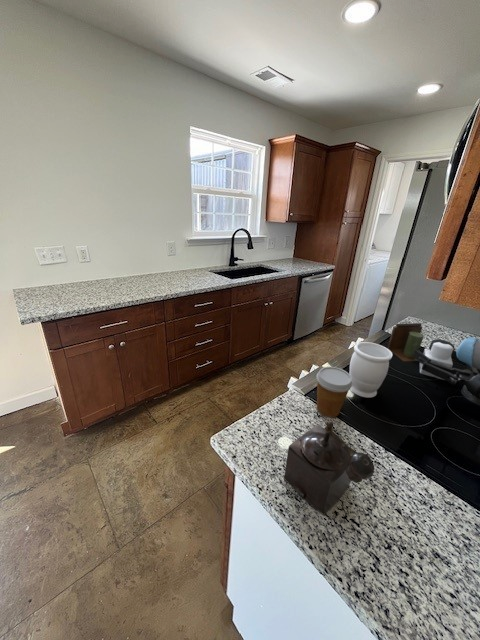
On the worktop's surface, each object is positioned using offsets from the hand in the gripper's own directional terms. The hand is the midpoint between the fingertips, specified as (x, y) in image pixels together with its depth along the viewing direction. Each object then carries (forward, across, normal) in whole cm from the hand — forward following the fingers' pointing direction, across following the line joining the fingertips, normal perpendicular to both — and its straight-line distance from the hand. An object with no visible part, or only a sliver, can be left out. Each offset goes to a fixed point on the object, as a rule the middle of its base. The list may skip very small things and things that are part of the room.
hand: (432, 352), depth 95 cm
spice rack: (+9, 0, -7) cm, 12 cm away
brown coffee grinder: (-39, -56, -8) cm, 69 cm away
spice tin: (+9, 0, -6) cm, 11 cm away
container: (-3, 0, -8) cm, 8 cm away
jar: (-9, -30, -8) cm, 32 cm away
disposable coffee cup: (-16, -45, -8) cm, 49 cm away
